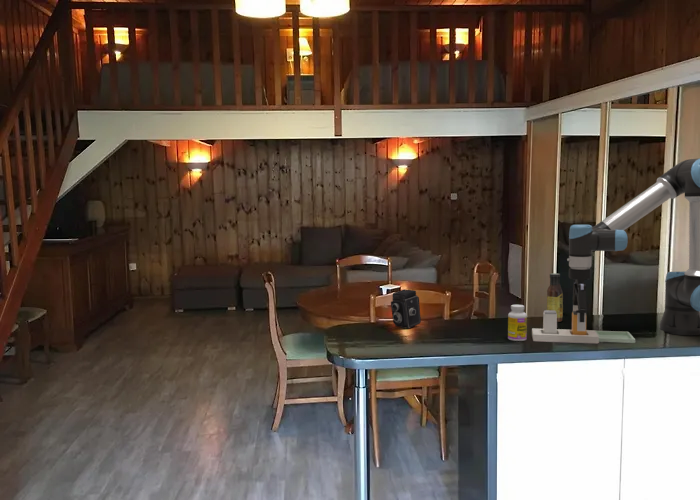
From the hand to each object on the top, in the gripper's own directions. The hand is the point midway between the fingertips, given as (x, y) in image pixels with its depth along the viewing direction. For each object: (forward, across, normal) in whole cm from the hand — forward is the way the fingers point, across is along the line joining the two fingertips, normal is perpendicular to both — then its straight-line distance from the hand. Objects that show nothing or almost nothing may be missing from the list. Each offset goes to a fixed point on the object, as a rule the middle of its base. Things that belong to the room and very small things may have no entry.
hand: (579, 326), depth 220 cm
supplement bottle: (+5, +2, -22) cm, 22 cm away
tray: (+5, -4, +12) cm, 14 cm away
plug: (+5, 0, 0) cm, 5 cm away
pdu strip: (+5, 0, -5) cm, 7 cm away
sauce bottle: (+5, -34, -6) cm, 35 cm away
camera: (+5, -13, -66) cm, 67 cm away
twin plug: (+5, 0, -10) cm, 11 cm away
